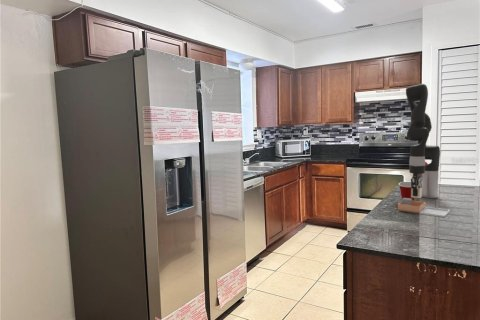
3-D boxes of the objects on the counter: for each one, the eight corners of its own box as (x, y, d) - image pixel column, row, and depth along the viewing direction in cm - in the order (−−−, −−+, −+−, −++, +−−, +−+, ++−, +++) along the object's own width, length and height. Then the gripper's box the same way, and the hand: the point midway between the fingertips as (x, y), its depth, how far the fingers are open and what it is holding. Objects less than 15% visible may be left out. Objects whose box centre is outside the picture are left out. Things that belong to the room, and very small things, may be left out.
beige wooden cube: (413, 195, 184) (413, 187, 184) (421, 196, 181) (421, 187, 181) (411, 197, 181) (411, 188, 181) (419, 198, 178) (419, 189, 178)
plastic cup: (397, 204, 196) (397, 184, 195) (398, 200, 206) (398, 181, 205) (418, 206, 191) (418, 185, 190) (418, 201, 201) (418, 182, 200)
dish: (404, 206, 192) (404, 199, 191) (425, 209, 184) (425, 202, 184) (397, 210, 183) (397, 203, 182) (419, 213, 176) (419, 206, 175)
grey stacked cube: (403, 206, 188) (404, 197, 188) (411, 207, 185) (412, 198, 185) (401, 207, 185) (401, 199, 185) (409, 208, 182) (409, 200, 182)
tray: (426, 208, 185) (426, 206, 185) (450, 211, 177) (450, 209, 177) (419, 214, 175) (419, 212, 175) (444, 217, 167) (444, 215, 167)
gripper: (413, 162, 187) (412, 192, 189) (405, 165, 177) (405, 196, 178) (428, 163, 182) (427, 193, 184) (421, 166, 172) (420, 198, 173)
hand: (416, 195), depth 181 cm, fingers closed on beige wooden cube, 4 cm apart
